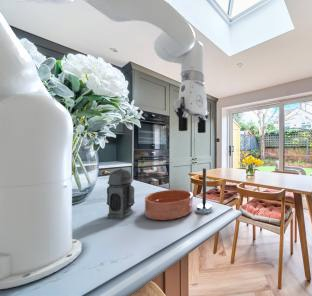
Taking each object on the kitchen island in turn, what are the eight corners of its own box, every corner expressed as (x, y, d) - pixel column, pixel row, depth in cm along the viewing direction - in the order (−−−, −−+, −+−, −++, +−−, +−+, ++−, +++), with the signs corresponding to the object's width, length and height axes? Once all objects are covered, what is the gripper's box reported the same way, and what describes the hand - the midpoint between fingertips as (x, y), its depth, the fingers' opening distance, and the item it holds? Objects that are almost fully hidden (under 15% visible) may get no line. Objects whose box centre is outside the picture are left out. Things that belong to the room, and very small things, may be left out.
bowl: (170, 226, 47) (170, 206, 47) (134, 215, 54) (134, 198, 54) (200, 208, 61) (201, 193, 61) (169, 201, 67) (169, 188, 67)
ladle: (206, 215, 55) (206, 169, 55) (193, 212, 57) (193, 168, 57) (214, 209, 60) (214, 167, 59) (202, 207, 62) (202, 166, 62)
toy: (139, 211, 57) (139, 167, 57) (127, 219, 51) (127, 170, 51) (115, 210, 58) (115, 167, 57) (101, 217, 52) (101, 169, 52)
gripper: (183, 68, 47) (183, 129, 48) (215, 86, 62) (215, 133, 63) (164, 73, 51) (165, 130, 51) (199, 90, 66) (199, 133, 66)
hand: (193, 131), depth 57 cm, fingers open, 9 cm apart
